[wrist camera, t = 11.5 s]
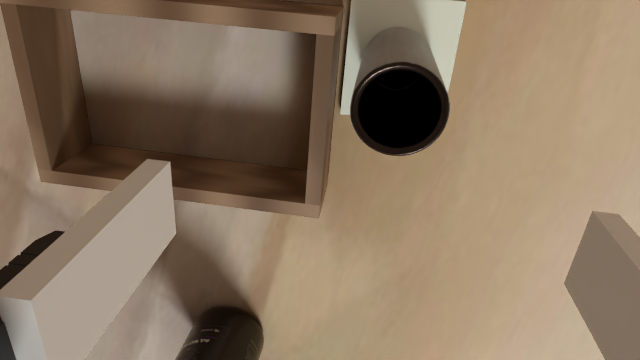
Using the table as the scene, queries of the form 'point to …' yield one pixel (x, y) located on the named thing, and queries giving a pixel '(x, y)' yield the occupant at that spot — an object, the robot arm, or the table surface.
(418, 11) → the coaster
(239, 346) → the supplement bottle
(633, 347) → the robot arm
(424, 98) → the gray cylindrical cup
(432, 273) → the table surface
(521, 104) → the table surface
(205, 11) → the box frame
